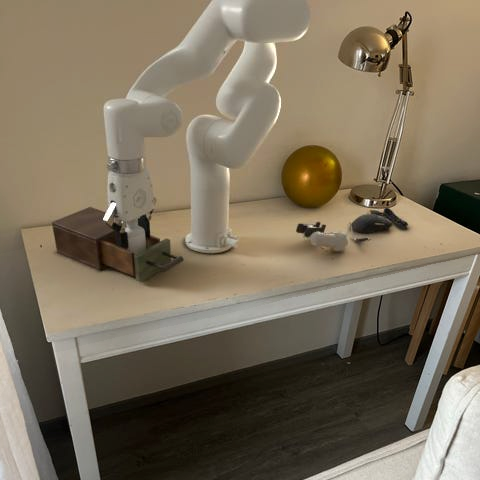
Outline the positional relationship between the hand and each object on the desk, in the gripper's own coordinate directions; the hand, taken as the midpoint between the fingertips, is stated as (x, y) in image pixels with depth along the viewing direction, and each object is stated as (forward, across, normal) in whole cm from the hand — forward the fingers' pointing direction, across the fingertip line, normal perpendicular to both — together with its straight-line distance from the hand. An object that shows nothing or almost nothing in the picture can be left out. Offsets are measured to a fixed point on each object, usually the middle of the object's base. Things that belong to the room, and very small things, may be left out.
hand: (133, 240), depth 116 cm
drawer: (+6, 0, -2) cm, 7 cm away
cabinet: (+7, 0, +13) cm, 15 cm away
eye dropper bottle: (+5, 0, 0) cm, 5 cm away
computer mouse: (+7, +62, -36) cm, 72 cm away
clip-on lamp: (+7, +41, -32) cm, 53 cm away
